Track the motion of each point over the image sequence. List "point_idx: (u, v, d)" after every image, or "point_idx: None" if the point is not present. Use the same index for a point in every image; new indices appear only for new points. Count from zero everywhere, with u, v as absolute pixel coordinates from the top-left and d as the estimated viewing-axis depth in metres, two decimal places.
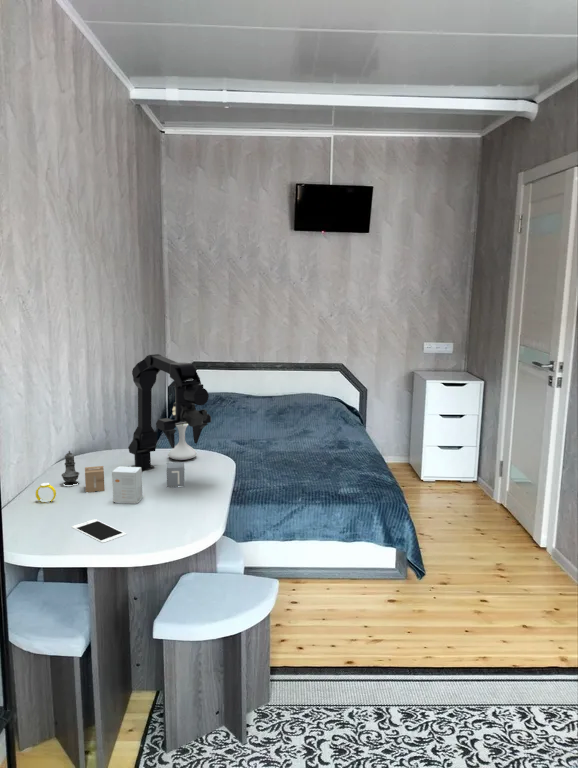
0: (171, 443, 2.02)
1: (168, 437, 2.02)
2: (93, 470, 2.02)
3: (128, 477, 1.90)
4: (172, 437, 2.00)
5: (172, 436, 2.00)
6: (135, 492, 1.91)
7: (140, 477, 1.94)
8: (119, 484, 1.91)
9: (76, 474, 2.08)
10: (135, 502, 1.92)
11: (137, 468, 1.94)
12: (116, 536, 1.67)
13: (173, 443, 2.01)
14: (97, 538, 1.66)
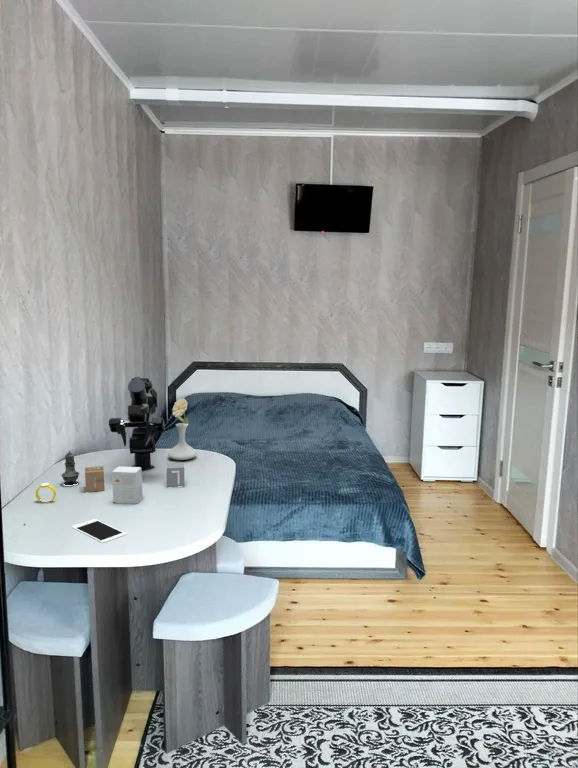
0: (123, 441, 2.09)
1: None
2: (93, 470, 2.02)
3: (128, 477, 1.90)
4: (122, 433, 2.09)
5: (122, 432, 2.10)
6: (135, 492, 1.91)
7: (140, 477, 1.94)
8: (119, 484, 1.91)
9: (76, 474, 2.08)
10: (135, 502, 1.92)
11: (137, 468, 1.94)
12: (116, 536, 1.67)
13: (124, 440, 2.08)
14: (97, 538, 1.66)
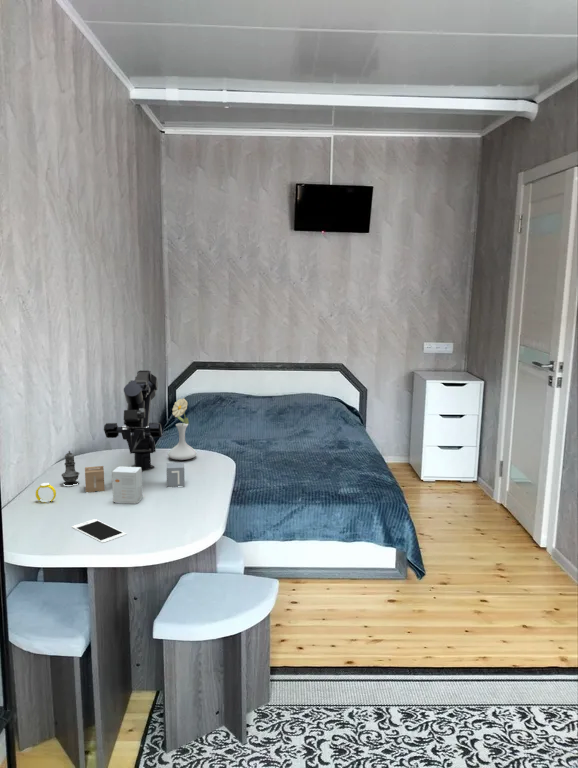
0: None
1: None
2: (93, 470, 2.02)
3: (128, 477, 1.90)
4: (128, 439, 2.02)
5: (128, 438, 2.02)
6: (135, 492, 1.91)
7: (140, 477, 1.94)
8: (119, 484, 1.91)
9: (76, 474, 2.08)
10: (135, 502, 1.92)
11: (137, 468, 1.94)
12: (116, 536, 1.67)
13: (129, 446, 2.01)
14: (97, 538, 1.66)
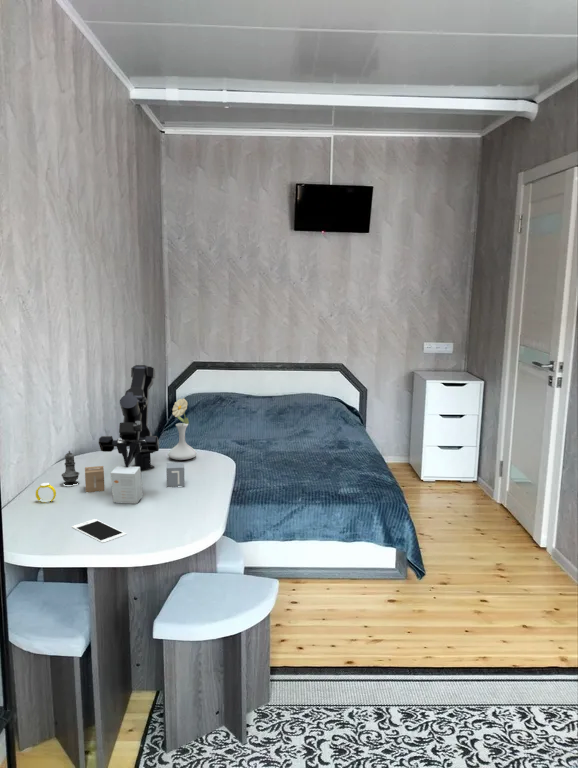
0: (124, 461, 1.94)
1: None
2: (93, 470, 2.02)
3: (127, 478, 1.90)
4: (123, 453, 1.94)
5: (123, 452, 1.95)
6: (134, 492, 1.91)
7: (139, 477, 1.93)
8: (118, 485, 1.90)
9: (76, 474, 2.08)
10: (135, 502, 1.92)
11: (136, 468, 1.93)
12: (116, 536, 1.67)
13: (125, 460, 1.94)
14: (97, 538, 1.66)
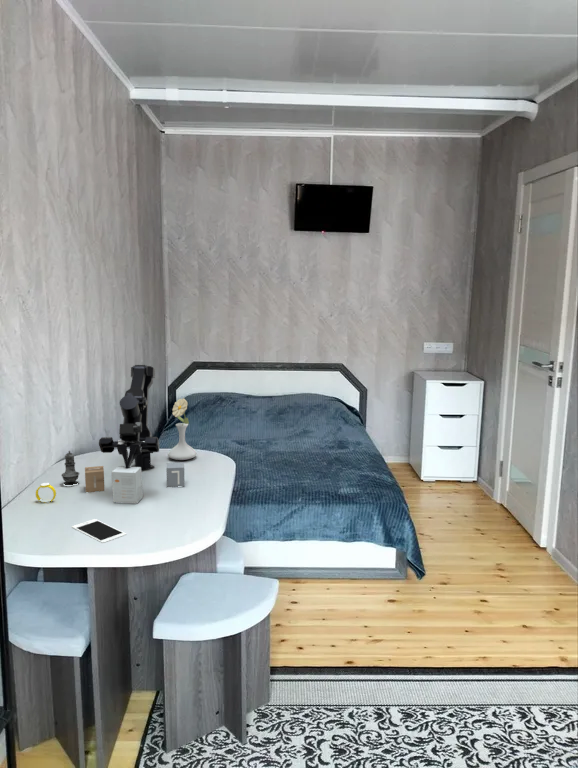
0: None
1: None
2: (93, 470, 2.02)
3: (128, 477, 1.90)
4: (124, 454, 1.94)
5: (124, 453, 1.94)
6: (134, 492, 1.91)
7: (140, 477, 1.94)
8: (119, 484, 1.91)
9: (76, 474, 2.08)
10: (135, 502, 1.92)
11: (137, 468, 1.94)
12: (116, 536, 1.67)
13: (125, 461, 1.93)
14: (97, 538, 1.66)
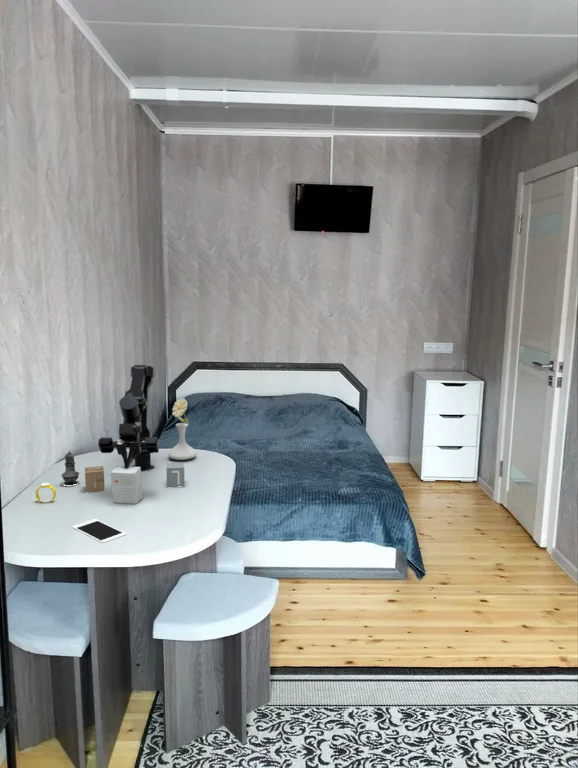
0: (124, 462, 1.93)
1: None
2: (93, 470, 2.02)
3: (127, 478, 1.90)
4: (123, 454, 1.94)
5: (123, 453, 1.94)
6: (134, 492, 1.91)
7: (139, 477, 1.94)
8: (118, 484, 1.91)
9: (76, 474, 2.08)
10: (135, 502, 1.92)
11: (136, 468, 1.93)
12: (116, 536, 1.67)
13: (124, 461, 1.93)
14: (97, 538, 1.66)
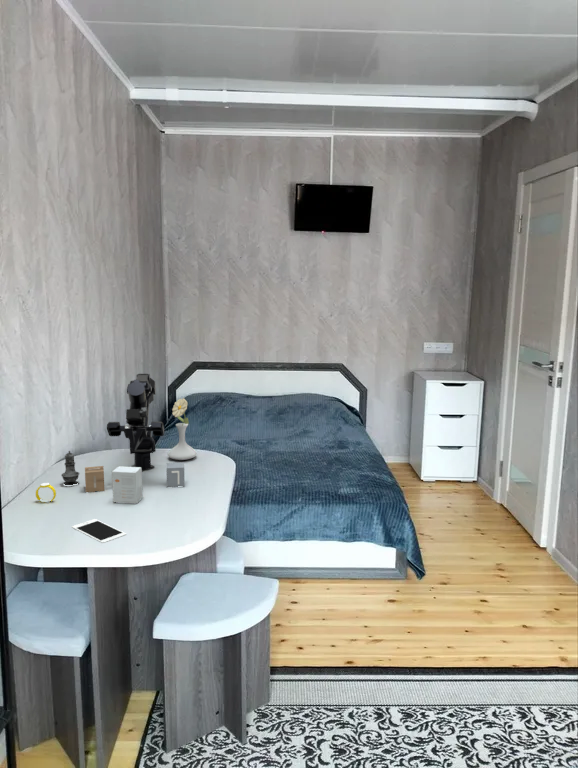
0: (131, 445, 2.04)
1: None
2: (93, 470, 2.02)
3: (128, 477, 1.90)
4: (130, 438, 2.05)
5: (130, 437, 2.05)
6: (134, 492, 1.91)
7: (140, 477, 1.94)
8: (119, 484, 1.91)
9: (76, 474, 2.08)
10: (135, 502, 1.92)
11: (137, 468, 1.94)
12: (116, 536, 1.67)
13: (132, 444, 2.04)
14: (97, 538, 1.66)
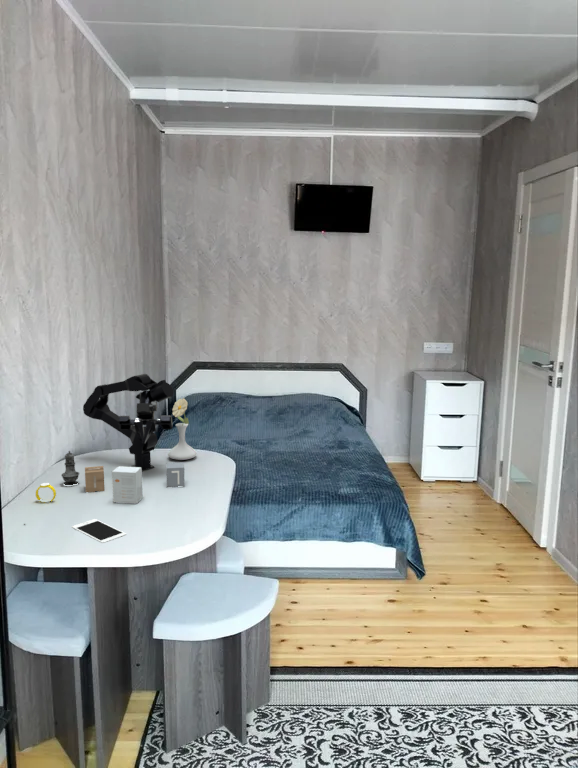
0: (141, 438, 2.13)
1: (140, 435, 2.15)
2: (93, 470, 2.02)
3: (128, 477, 1.90)
4: (140, 431, 2.13)
5: (140, 430, 2.13)
6: (134, 492, 1.91)
7: (140, 477, 1.94)
8: (119, 484, 1.91)
9: (76, 474, 2.08)
10: (135, 502, 1.92)
11: (137, 468, 1.94)
12: (116, 536, 1.67)
13: (142, 437, 2.12)
14: (97, 538, 1.66)
